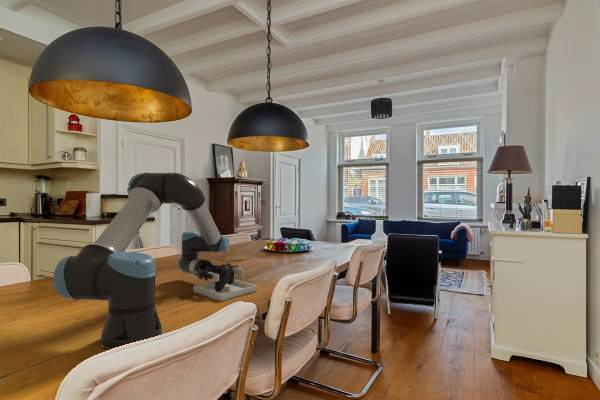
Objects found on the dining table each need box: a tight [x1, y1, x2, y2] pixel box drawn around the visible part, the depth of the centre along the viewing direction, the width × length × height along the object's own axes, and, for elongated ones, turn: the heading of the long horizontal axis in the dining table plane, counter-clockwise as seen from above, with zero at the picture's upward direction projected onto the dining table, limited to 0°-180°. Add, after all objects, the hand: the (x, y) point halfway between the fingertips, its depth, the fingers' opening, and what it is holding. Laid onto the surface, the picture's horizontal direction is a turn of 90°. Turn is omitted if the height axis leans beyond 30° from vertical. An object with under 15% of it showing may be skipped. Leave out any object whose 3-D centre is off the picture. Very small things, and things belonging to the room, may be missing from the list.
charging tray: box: [192, 278, 258, 302], centre depth 139 cm, size 18×19×2 cm
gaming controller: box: [214, 262, 235, 292], centre depth 139 cm, size 14×6×10 cm, turn 168°
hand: (231, 275), depth 136 cm, fingers closed on gaming controller, 12 cm apart
